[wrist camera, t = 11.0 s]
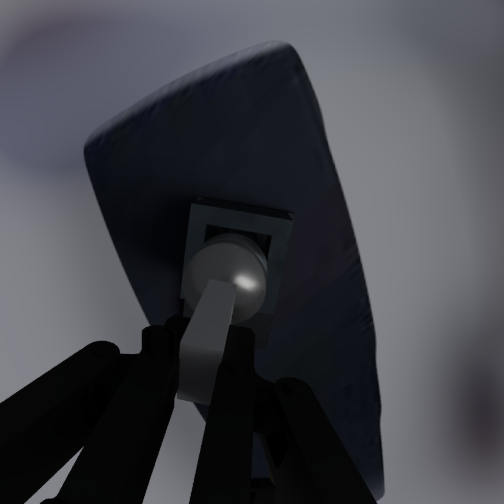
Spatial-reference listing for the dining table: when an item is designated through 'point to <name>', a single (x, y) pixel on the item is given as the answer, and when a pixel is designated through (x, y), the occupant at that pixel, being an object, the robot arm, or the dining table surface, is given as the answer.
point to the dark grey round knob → (229, 271)
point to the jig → (270, 241)
